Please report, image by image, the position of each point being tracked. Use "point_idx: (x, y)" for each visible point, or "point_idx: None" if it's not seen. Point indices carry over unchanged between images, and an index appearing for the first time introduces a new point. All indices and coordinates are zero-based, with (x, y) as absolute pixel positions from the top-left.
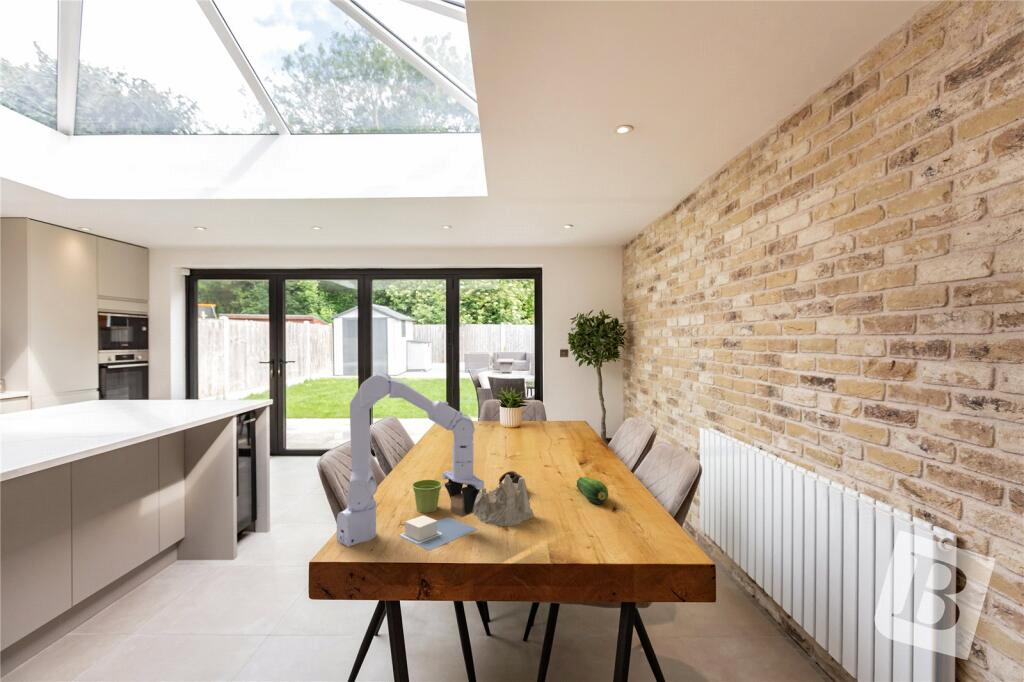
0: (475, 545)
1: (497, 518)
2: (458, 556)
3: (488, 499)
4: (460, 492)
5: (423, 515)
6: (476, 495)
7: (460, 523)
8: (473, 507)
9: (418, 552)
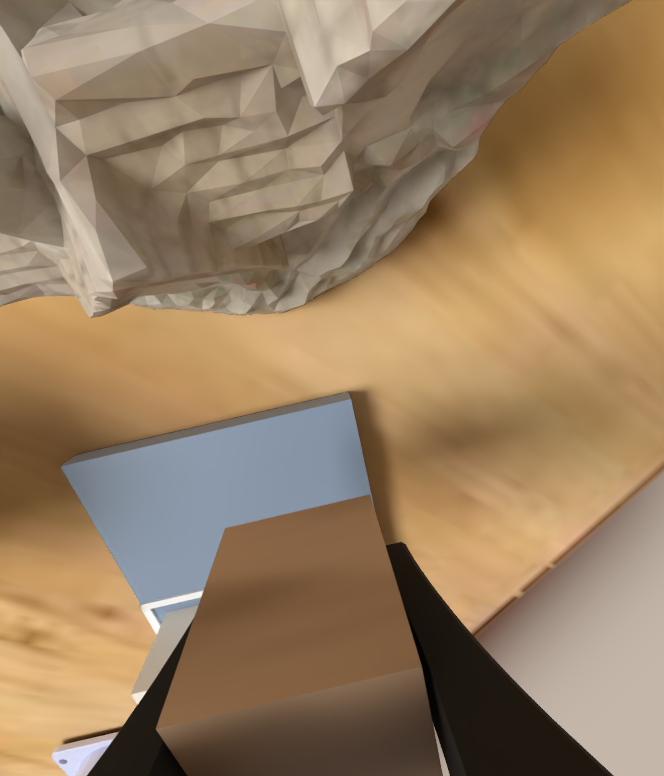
0: (462, 473)
1: (380, 241)
2: (490, 565)
3: (212, 226)
4: (159, 773)
5: (135, 694)
6: (551, 730)
7: (210, 445)
8: (382, 538)
9: None
